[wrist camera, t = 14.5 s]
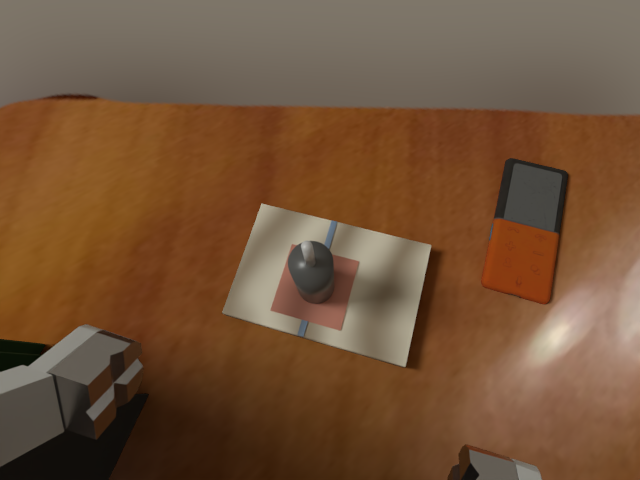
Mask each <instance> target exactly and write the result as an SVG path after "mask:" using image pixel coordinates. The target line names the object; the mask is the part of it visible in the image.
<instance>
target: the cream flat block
mask: <svg viewBox="0 0 640 480" xmlns="http://www.w3.org/2000/svg"><path fill="white" fill-rule="evenodd" d="M304 241H317V242H320V243H322V244H324V245H325V246H326V247H327V248H328V249H329V250H330V252H331V253H332V256H333V263H334V291H333V294H332V295H331V297H330V298H329V299H328V300H327V301H325V302H323V303H320V304H312V303H309V302H307V301H305V300H304V299H303V298H302V297H301V296H300V294H299V292H298V290H297V287H296V285H295V283H294V281H293V278H292V276H291V274H290V271H289V268H288V258H289V255H290V253H291V251H292V250H293V249H294V248H295V247H296V246H297V245H298V244H300V243H302V242H304ZM430 249H431V245H428V244H424V243H420V242H416V241H412V240H408V239H404V238H400V237H395V236H391V235H387V234H383V233H379V232H375V231H371V230H367V229H363V228H359V227H355V226H351V225H347V224H343V223H339V222H336V221H330V220H326V219H322V218H318V217H314V216H310V215H306V214H302V213H298V212H294V211H290V210H286V209H282V208H278V207H274V206H269V205H265V204H261V207H260V210H259V212H258V215H257V218H256V221H255V224H254V226H253V229H252V232H251V235H250V237H249V240H248V243H247V246H246V248H245V251H244V254H243V257H242V259H241V262H240V265H239V268H238V270H237V273H236V276H235V279H234V281H233V284H232V287H231V290H230V292H229V295H228V298H227V301H226V303H225V306H224V309H223V312H222V313H223V314H225V315H227V316H230V317H234V318H237V319H240V320H244V321H247V322H251V323H254V324H257V325H261V326H264V327H268V328H271V329H274V330H278V331H281V332H285V333H288V334H291V335H295V336H298V337H302V338H305V339H308V340H312V341H315V342H319V343H322V344H325V345H329V346H332V347H336V348H339V349H342V350H346V351H349V352H353V353H356V354H359V355H363V356H366V357H370V358H373V359H376V360H380V361H383V362H387V363H390V364H393V365H397V366H400V367H406V362H407V357H408V353H409V348H410V343H411V339H412V334H413V329H414V325H415V320H416V315H417V310H418V306H419V301H420V296H421V292H422V287H423V282H424V278H425V273H426V268H427V264H428V259H429V254H430Z"/></svg>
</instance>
